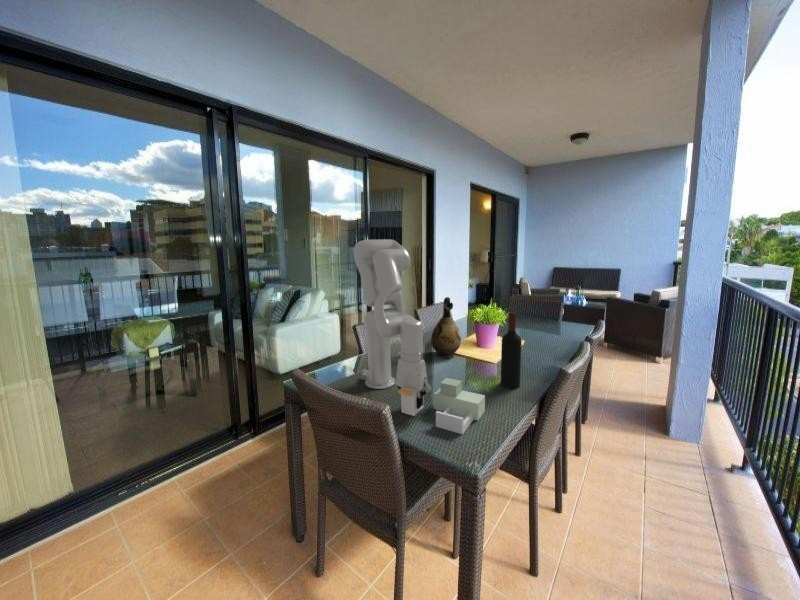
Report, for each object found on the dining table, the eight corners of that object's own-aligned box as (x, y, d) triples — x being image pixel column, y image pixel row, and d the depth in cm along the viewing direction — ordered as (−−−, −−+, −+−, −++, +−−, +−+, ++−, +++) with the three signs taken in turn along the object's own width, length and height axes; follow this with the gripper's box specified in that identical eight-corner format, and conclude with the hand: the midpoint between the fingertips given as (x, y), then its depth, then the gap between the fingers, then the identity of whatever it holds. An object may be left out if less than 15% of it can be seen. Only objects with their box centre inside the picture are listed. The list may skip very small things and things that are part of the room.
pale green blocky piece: (420, 422, 112) (420, 393, 110) (442, 401, 126) (442, 375, 125) (466, 435, 104) (467, 405, 102) (484, 411, 118) (485, 384, 116)
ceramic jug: (463, 359, 170) (463, 300, 165) (432, 359, 170) (431, 301, 165) (458, 348, 187) (458, 294, 182) (430, 349, 187) (429, 295, 182)
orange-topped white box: (398, 414, 117) (397, 390, 115) (411, 403, 124) (411, 380, 123) (411, 418, 114) (410, 393, 113) (423, 407, 122) (423, 383, 120)
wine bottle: (497, 385, 139) (498, 313, 134) (506, 379, 144) (508, 310, 139) (514, 390, 134) (516, 315, 129) (523, 384, 139) (526, 312, 134)
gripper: (385, 355, 118) (386, 403, 121) (429, 363, 109) (429, 416, 112) (396, 348, 124) (397, 395, 127) (439, 356, 115) (439, 406, 118)
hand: (412, 404), depth 120 cm, fingers closed on orange-topped white box, 5 cm apart
